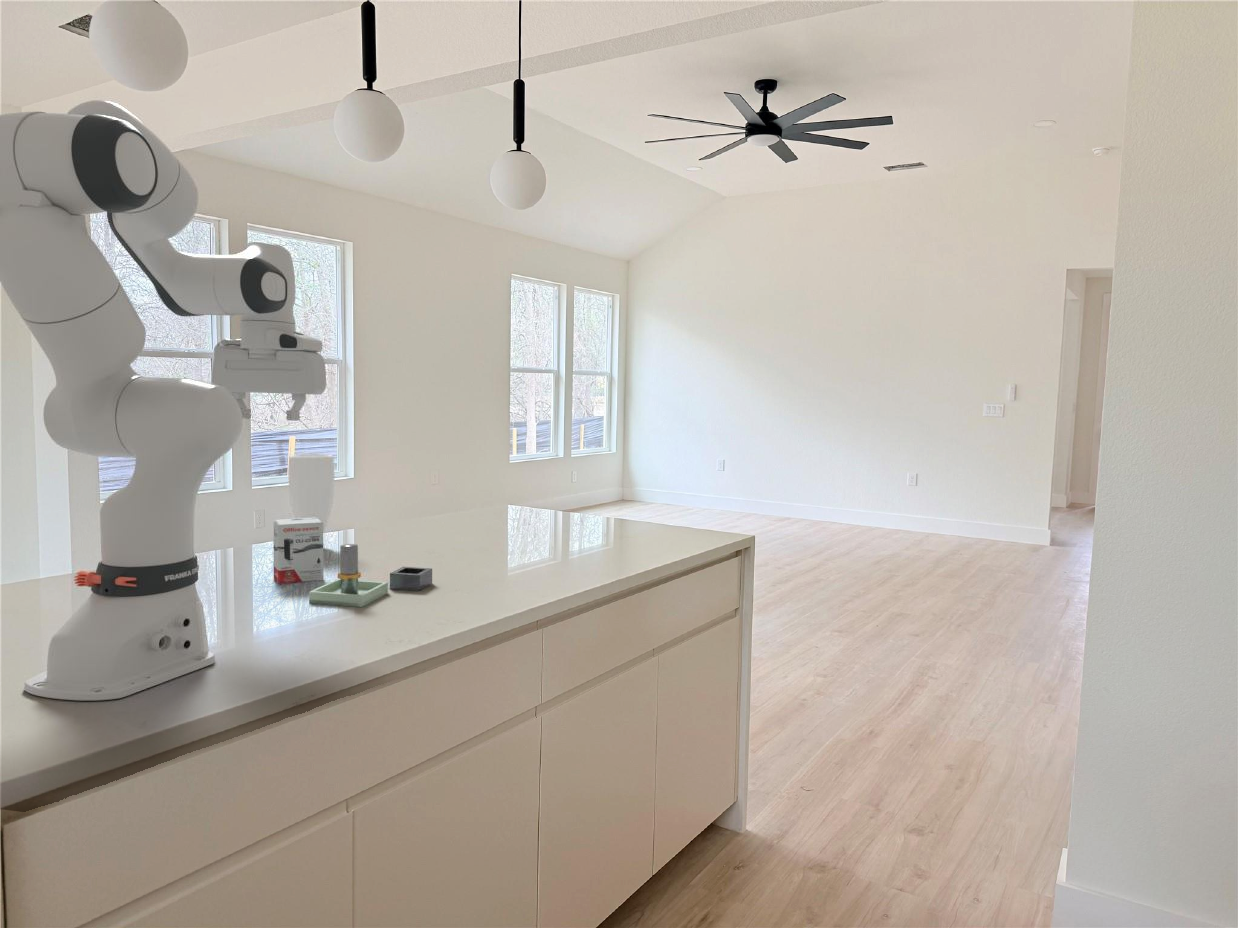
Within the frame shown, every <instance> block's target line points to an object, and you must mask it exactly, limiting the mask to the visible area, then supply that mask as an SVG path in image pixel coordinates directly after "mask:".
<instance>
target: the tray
mask: <svg viewBox="0 0 1238 928" xmlns="http://www.w3.org/2000/svg"><path fill="white" fill-rule="evenodd" d="M388 585H389V583H388V581H387V582H386V581H384V582H383V581H373V580H359V579H358V594H345V593H341V579H339V578H336V579H334V580H332V581H330V582H328V583H325V584H324V585H321V586H319V587H316V588H314V589H312V590H310V591H309V592H308V595H309V596H308V602H309V604H317V605H319V604H320V605H331V606H341V607H342V606H344V607H345V606H346V607H358V608H363V607H365V606H366V605H368V604H370V603H373V602H374V601H376V600H377V599H379V598H381V597H383V596H385V595H387V594H389V586H388Z"/></svg>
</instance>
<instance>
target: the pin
mask: <svg viewBox="0 0 1238 928" xmlns="http://www.w3.org/2000/svg"><path fill="white" fill-rule="evenodd" d="M339 550H340V561H339V562H340V572H338V573H337V579H341V593H345V594H358V580H359V578H361V577H362V572H361V571H359V545H358V544H356V543H346V544H345V543H344V544H341V545H340V549H339Z"/></svg>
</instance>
